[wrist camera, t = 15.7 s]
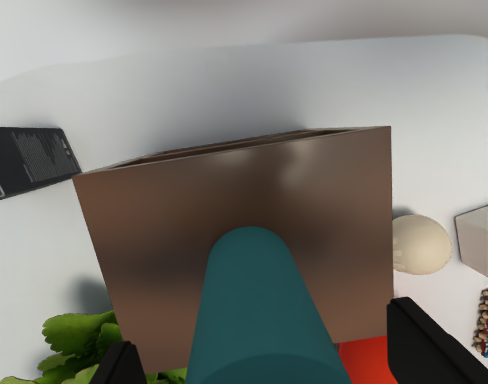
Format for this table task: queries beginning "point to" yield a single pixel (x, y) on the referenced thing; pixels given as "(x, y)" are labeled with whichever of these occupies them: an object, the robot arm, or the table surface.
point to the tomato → (367, 361)
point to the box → (33, 159)
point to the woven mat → (484, 336)
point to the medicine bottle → (474, 239)
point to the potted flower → (84, 350)
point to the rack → (242, 215)
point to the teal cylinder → (259, 318)
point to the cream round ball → (419, 245)
